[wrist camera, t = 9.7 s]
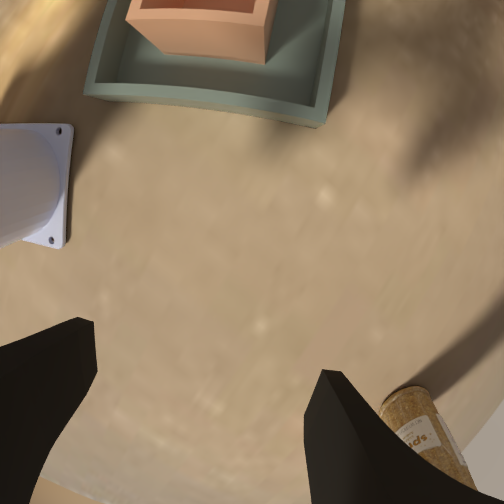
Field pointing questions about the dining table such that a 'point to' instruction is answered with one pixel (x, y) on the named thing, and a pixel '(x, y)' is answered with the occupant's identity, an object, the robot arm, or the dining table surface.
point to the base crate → (225, 67)
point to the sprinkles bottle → (425, 431)
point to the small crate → (207, 27)
